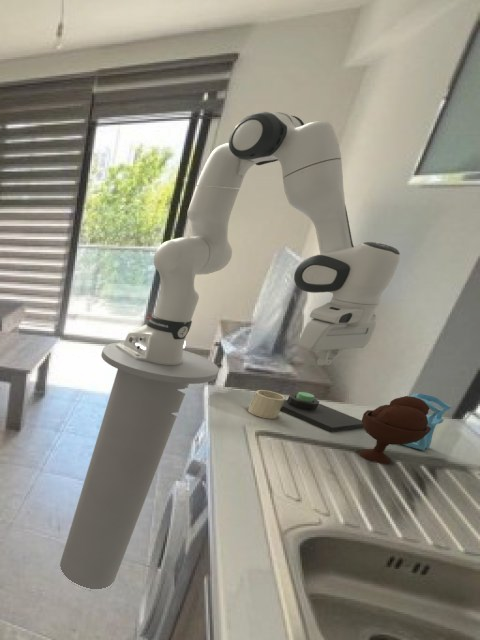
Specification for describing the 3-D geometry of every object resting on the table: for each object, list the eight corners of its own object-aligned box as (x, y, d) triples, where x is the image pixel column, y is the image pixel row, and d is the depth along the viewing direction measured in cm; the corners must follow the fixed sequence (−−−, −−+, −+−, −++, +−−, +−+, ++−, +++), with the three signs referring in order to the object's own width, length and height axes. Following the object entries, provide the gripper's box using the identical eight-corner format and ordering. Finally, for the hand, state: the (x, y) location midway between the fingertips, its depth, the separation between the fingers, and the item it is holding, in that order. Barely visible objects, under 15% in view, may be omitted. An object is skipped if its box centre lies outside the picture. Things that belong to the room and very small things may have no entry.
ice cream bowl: (339, 441, 117) (372, 384, 110) (401, 456, 111) (440, 397, 104) (345, 458, 109) (381, 398, 102) (412, 475, 103) (454, 413, 96)
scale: (269, 405, 135) (274, 395, 133) (303, 401, 138) (308, 392, 136) (329, 431, 121) (335, 421, 120) (365, 427, 124) (372, 416, 123)
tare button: (292, 398, 133) (295, 392, 132) (301, 397, 134) (304, 391, 133) (305, 403, 130) (308, 397, 129) (315, 402, 131) (318, 396, 130)
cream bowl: (242, 409, 131) (250, 390, 129) (259, 407, 133) (268, 389, 130) (264, 419, 126) (273, 400, 123) (282, 417, 127) (291, 398, 125)
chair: (419, 452, 113) (450, 407, 107) (375, 437, 119) (402, 393, 114) (433, 446, 116) (464, 401, 110) (389, 431, 123) (416, 388, 117)
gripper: (364, 308, 126) (338, 358, 132) (306, 310, 120) (283, 362, 127) (392, 314, 120) (364, 366, 127) (333, 316, 115) (307, 371, 122)
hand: (323, 364), depth 127 cm, fingers closed
